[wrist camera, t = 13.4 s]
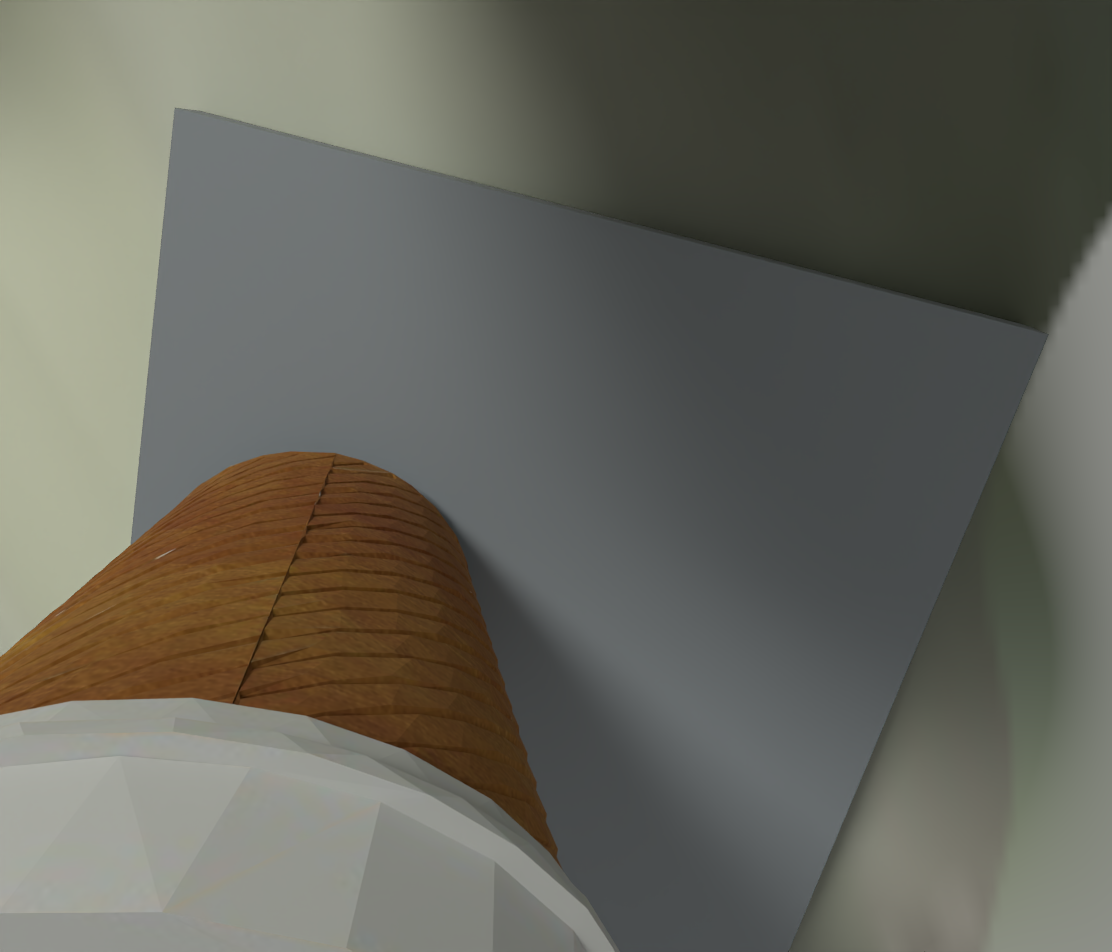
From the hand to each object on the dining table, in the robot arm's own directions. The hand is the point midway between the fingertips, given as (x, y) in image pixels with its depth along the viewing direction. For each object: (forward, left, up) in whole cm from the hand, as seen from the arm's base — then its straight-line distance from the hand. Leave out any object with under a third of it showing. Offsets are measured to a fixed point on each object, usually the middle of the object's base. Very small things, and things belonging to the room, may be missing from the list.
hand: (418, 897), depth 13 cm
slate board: (0, 0, -8) cm, 8 cm away
